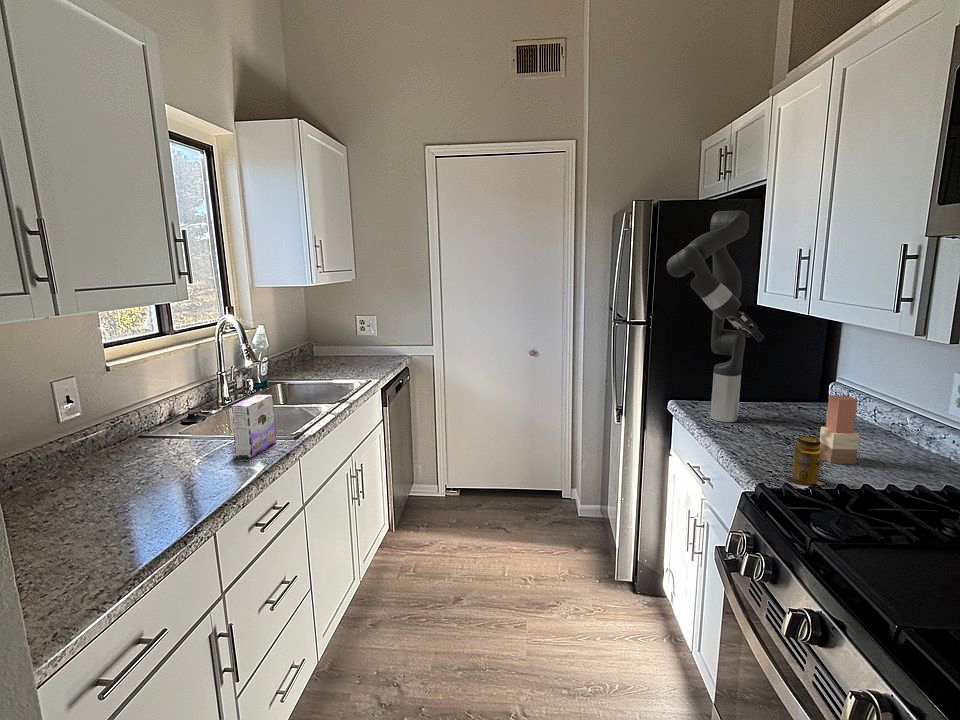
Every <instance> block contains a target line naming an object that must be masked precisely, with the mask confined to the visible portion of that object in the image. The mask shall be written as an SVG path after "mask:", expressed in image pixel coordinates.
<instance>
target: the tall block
mask: <svg viewBox="0 0 960 720" xmlns="http://www.w3.org/2000/svg"><path fill="white" fill-rule="evenodd" d="M828 397H829V398H828V405H827V415H826V423H825V427H826V428H827V429H829V430H831V431H833V432H835V433H853V432H855V431H854V430H855V423H856V416H857V415H856V414H857V406H858V399H857V398H854V397H852V396H849V395H848V394H847V395H846V394H839V395H838V394H837V395H836V394H835V395H834V394H831V395H830V394H829V396H828Z"/></svg>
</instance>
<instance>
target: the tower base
mask: <svg viewBox="0 0 960 720" xmlns="http://www.w3.org/2000/svg"><path fill="white" fill-rule="evenodd" d="M820 451H821V457H820V459H821V458H822V459H823V460H824V461H826V462H827V463H829V464H838V465H839V464H840V465H856V462H857V455H858V454H857V453H858V450H850V449H831V448H830V447H828V446H826V445H825V444H823V443H822V442H820Z"/></svg>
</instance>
